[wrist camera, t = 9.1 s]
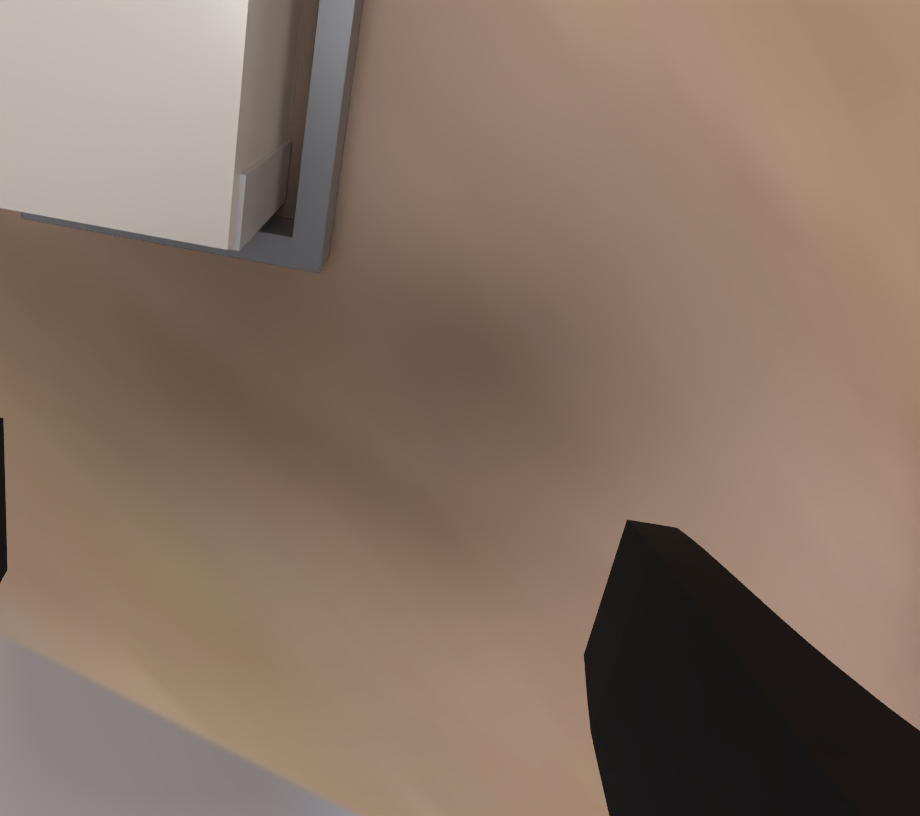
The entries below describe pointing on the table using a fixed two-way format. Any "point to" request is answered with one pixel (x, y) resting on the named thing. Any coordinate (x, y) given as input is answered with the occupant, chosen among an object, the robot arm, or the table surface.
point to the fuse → (149, 113)
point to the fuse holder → (320, 162)
